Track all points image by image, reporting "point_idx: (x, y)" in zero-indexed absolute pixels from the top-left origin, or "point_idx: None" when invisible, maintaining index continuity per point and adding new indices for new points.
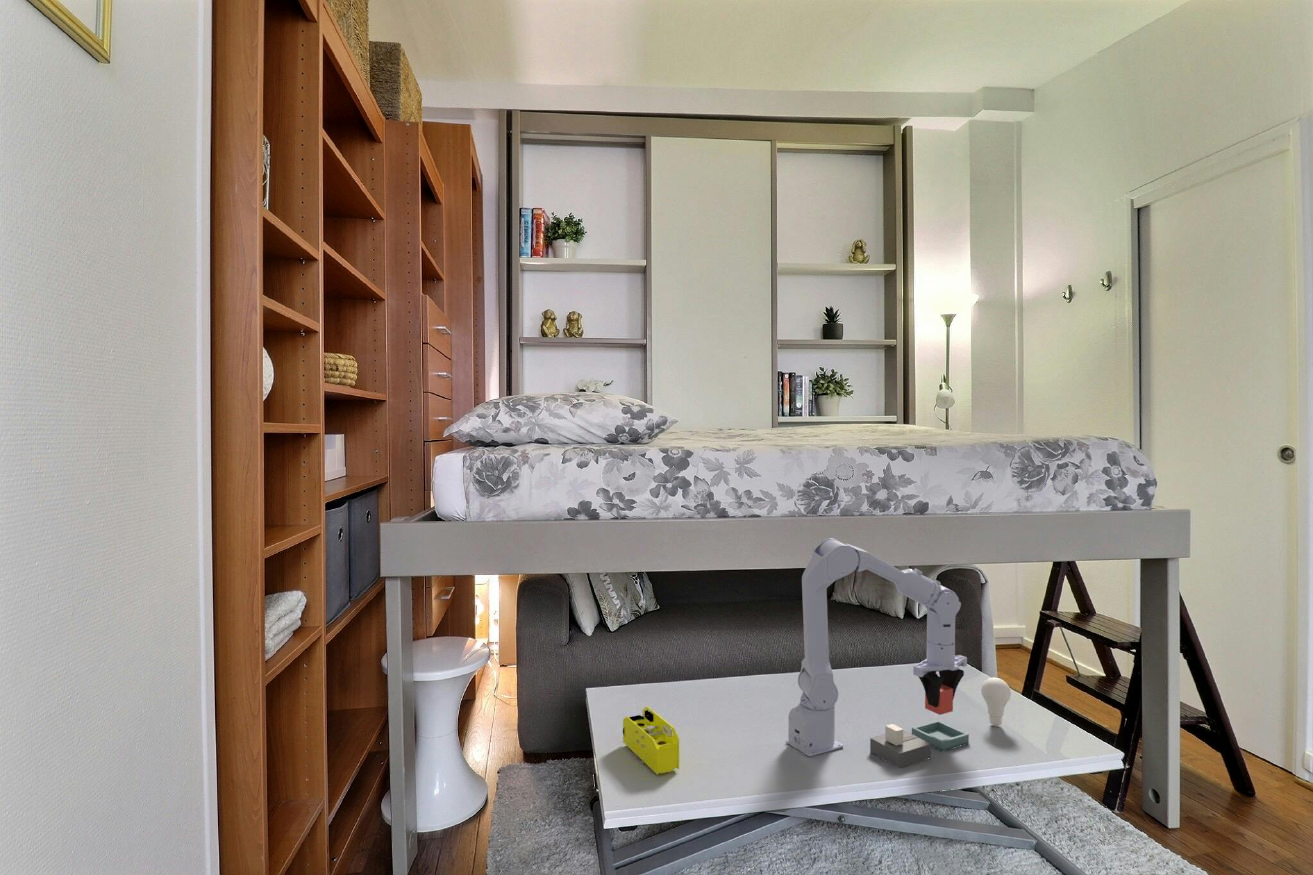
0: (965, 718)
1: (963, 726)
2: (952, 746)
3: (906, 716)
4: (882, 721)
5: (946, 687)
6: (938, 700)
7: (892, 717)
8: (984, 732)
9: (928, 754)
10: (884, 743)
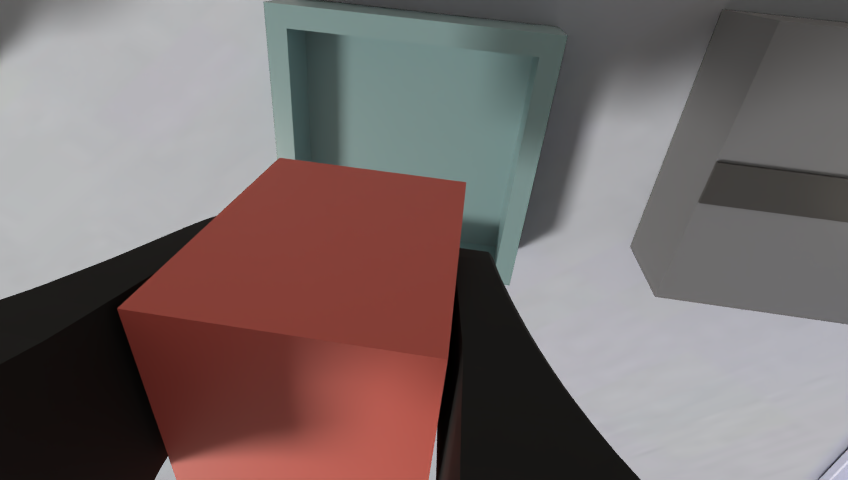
0: (69, 212)
1: (145, 164)
2: (452, 17)
3: None
4: None
5: (192, 379)
6: (466, 280)
7: None
8: (75, 40)
9: (765, 15)
10: None
